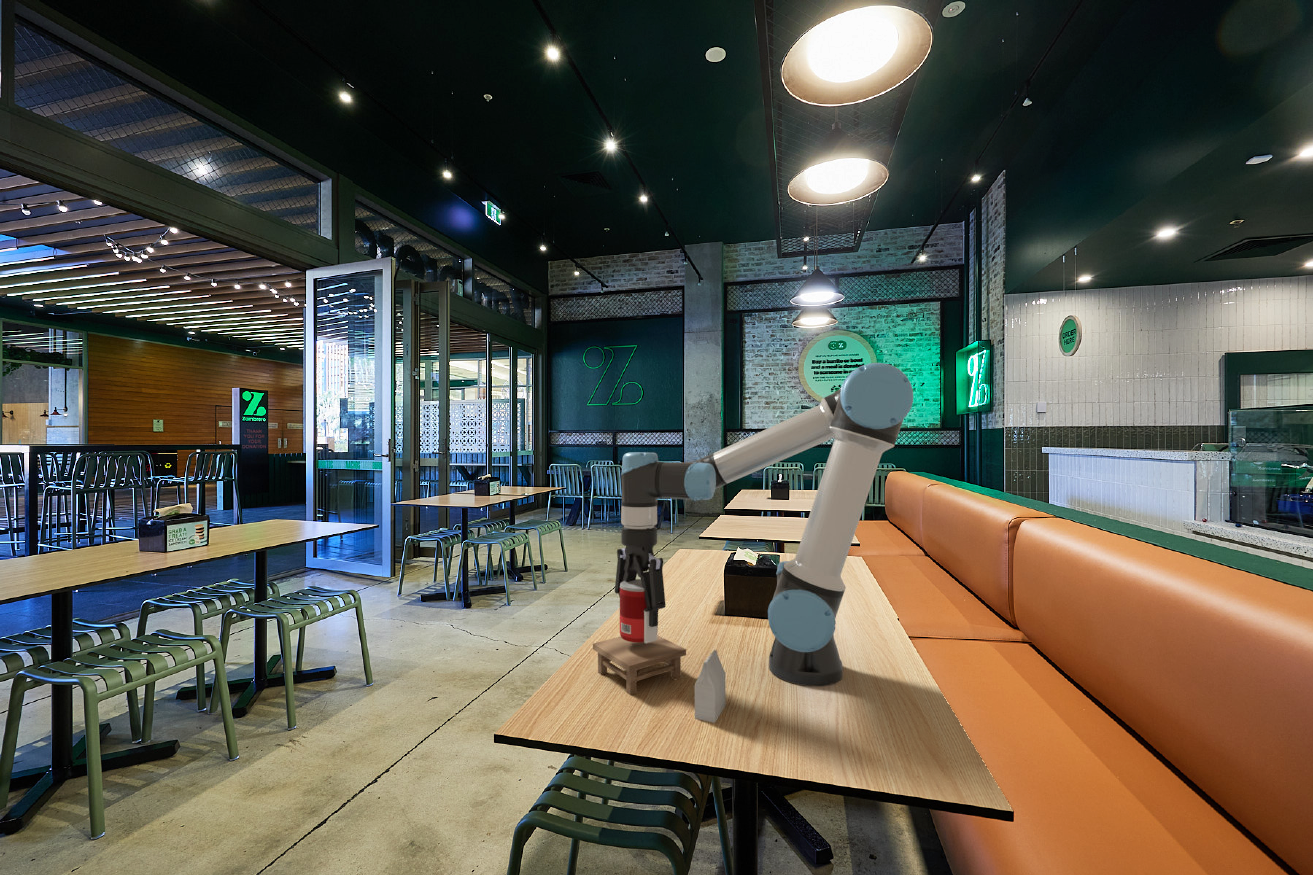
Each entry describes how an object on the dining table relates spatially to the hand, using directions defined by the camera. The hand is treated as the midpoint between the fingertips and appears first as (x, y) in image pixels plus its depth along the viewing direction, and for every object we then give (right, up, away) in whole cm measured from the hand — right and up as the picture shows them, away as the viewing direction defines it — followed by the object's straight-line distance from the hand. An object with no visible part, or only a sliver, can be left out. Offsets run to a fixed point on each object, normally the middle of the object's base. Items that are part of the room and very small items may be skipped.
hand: (638, 634), depth 110 cm
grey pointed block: (+14, -8, -15) cm, 22 cm away
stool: (0, -8, 0) cm, 8 cm away
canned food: (0, -1, 0) cm, 1 cm away
